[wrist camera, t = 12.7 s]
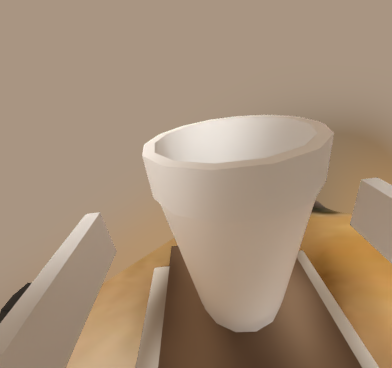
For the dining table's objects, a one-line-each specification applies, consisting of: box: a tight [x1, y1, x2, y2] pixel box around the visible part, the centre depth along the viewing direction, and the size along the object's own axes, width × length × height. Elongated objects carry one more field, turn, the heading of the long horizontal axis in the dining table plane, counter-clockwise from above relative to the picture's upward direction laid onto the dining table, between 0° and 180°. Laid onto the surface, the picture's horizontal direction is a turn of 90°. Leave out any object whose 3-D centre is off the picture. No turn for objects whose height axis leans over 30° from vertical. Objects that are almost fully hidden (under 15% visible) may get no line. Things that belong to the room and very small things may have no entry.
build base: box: [136, 246, 379, 368], centre depth 18 cm, size 18×14×6 cm
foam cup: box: [142, 115, 334, 332], centre depth 14 cm, size 10×9×13 cm
